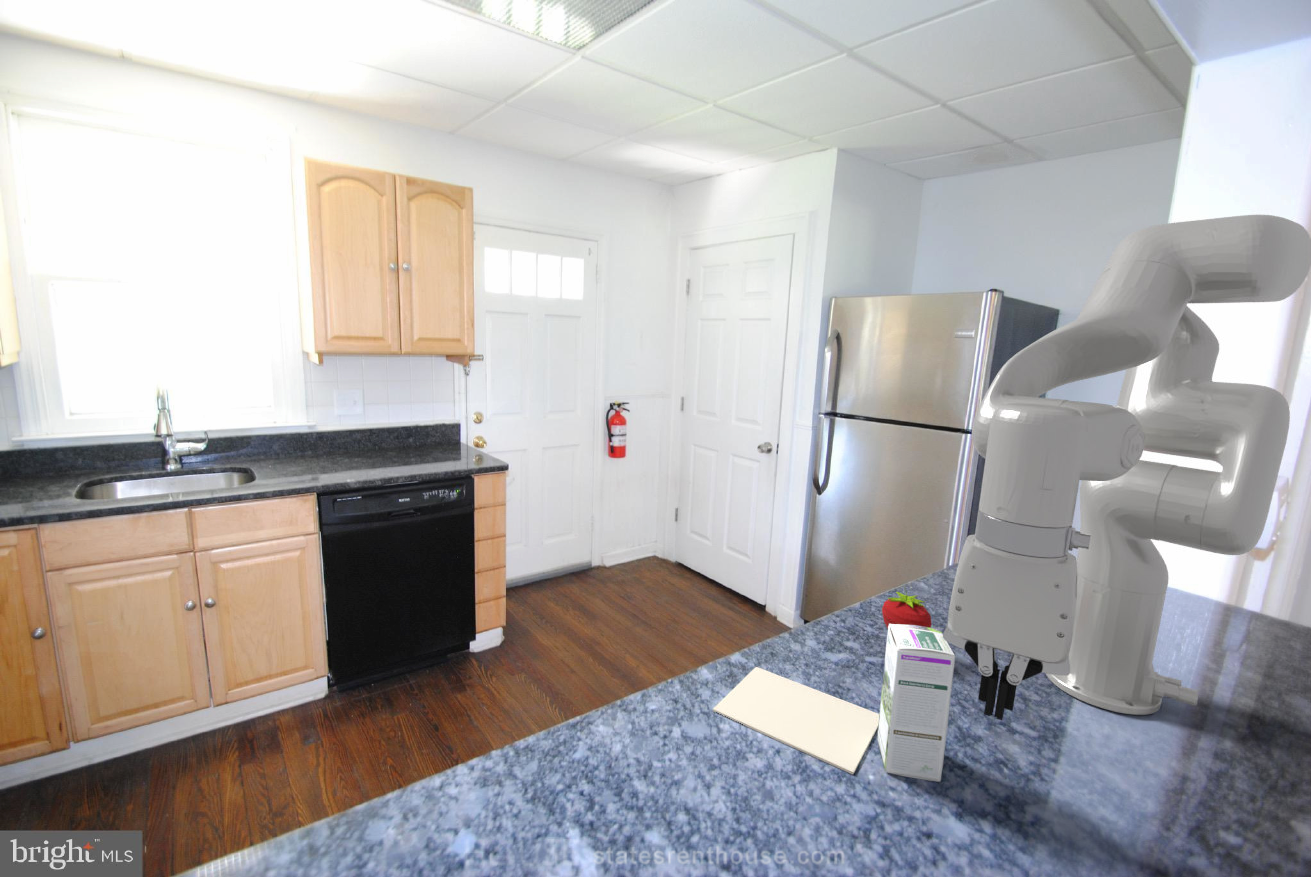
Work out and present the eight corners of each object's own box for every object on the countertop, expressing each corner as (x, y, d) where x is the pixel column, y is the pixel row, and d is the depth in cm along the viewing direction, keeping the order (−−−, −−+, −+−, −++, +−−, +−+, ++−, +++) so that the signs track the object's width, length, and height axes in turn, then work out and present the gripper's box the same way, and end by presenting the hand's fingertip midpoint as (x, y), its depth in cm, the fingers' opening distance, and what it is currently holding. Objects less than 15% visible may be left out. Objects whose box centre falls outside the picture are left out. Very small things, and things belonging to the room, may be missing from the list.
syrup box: (942, 784, 60) (960, 654, 58) (882, 773, 61) (897, 646, 59) (928, 747, 66) (944, 628, 63) (873, 738, 67) (887, 620, 64)
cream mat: (883, 717, 71) (883, 715, 70) (853, 774, 61) (853, 772, 61) (755, 668, 80) (756, 666, 80) (712, 711, 70) (712, 708, 70)
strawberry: (907, 666, 82) (915, 600, 81) (868, 640, 89) (875, 579, 88) (937, 658, 85) (945, 594, 83) (897, 634, 92) (904, 574, 90)
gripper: (1117, 542, 54) (1085, 722, 57) (941, 510, 62) (921, 668, 65) (1124, 565, 48) (1088, 765, 51) (927, 527, 56) (906, 700, 59)
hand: (994, 710), depth 58 cm, fingers closed
